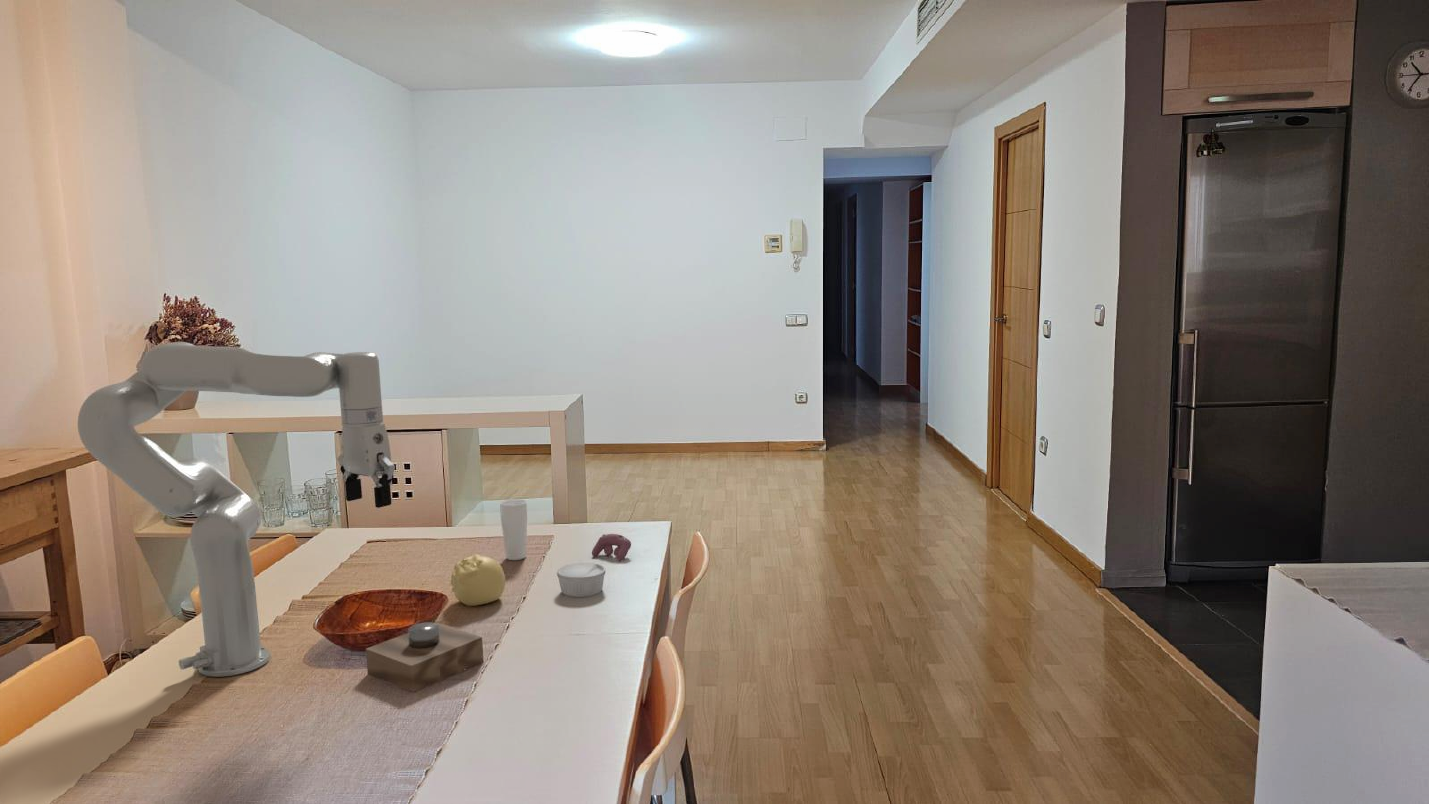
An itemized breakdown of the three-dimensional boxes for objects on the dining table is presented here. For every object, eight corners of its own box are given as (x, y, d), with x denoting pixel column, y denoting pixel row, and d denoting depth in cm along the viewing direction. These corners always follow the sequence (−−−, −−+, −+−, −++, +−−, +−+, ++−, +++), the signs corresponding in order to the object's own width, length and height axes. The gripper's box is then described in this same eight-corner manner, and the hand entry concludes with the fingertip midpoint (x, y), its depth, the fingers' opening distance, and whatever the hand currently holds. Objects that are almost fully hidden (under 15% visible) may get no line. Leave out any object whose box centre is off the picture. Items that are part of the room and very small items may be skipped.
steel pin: (422, 674, 177) (420, 635, 176) (404, 667, 180) (401, 629, 179) (447, 663, 181) (444, 626, 180) (429, 657, 185) (426, 620, 184)
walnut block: (413, 692, 170) (411, 666, 170) (367, 674, 179) (365, 648, 178) (483, 662, 183) (482, 637, 182) (438, 646, 191) (436, 622, 191)
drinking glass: (501, 555, 251) (498, 500, 249) (527, 553, 253) (524, 498, 251) (504, 563, 245) (501, 506, 243) (530, 560, 247) (527, 504, 245)
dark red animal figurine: (629, 564, 247) (635, 537, 249) (619, 560, 243) (626, 534, 245) (599, 559, 252) (605, 533, 254) (589, 555, 248) (595, 529, 250)
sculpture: (449, 597, 220) (447, 552, 219) (502, 589, 224) (499, 545, 223) (454, 613, 210) (451, 566, 208) (509, 605, 214) (507, 559, 212)
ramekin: (611, 595, 219) (610, 573, 219) (563, 602, 215) (562, 580, 214) (599, 581, 230) (598, 559, 229) (553, 587, 226) (552, 566, 225)
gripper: (405, 417, 181) (412, 504, 183) (353, 410, 191) (360, 493, 194) (371, 422, 175) (377, 513, 177) (319, 415, 185) (326, 501, 188)
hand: (368, 502), depth 185 cm, fingers open, 9 cm apart
